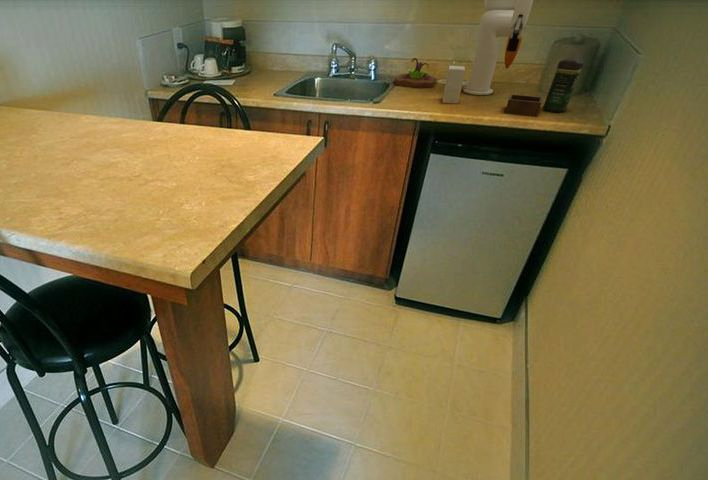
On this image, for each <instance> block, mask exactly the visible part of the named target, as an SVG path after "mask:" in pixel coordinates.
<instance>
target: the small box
mask: <svg viewBox="0 0 708 480" xmlns="http://www.w3.org/2000/svg"><path fill="white" fill-rule="evenodd" d="M465 73H466V67H465V66H463V65H460V66H459V65H449V66H448V70H447V75H446V79H445V85H444V90H443V95H442V103H443V104H459V100H460V96H461V91H462V87H463V86H462V83H463V81H464V78H465Z"/></svg>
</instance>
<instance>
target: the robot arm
mask: <svg viewBox="0 0 708 480" xmlns="http://www.w3.org/2000/svg"><path fill="white" fill-rule="evenodd" d="M534 1H535V0H483V6H484V10H485V11H486V12H485V13H483V14H482V16H481V17H480V20H479V27H478V38H477V44H476V49H475V54H474V58H473V63H472V67H471V71H470V75H469V79H468V80H466V81H464V80H463V83H462V87H464V88H463V92H464V93H466V94H469V95H475V96H488V95H491V94H493V91H494V89H492V88H491V84H492V81H493V77H494V74H495V69H496V65H497V61H498V58H499V54H500V49H501V48H500V44H499V41H498V40H497V38H509V36H510V35H511V34H512V35H511V39H510V40H509V44H508V47H507V51H511V52H515V51H516V49H517V46H518V42H519V36H520V35H522V32H523V31H524V29H525V28H526V25H527V22H528V19H529V16H530V14H531V10H532V7H533V4H534ZM524 27H525V28H524ZM519 28H521V29H522V30H521V29H519ZM523 28H524V29H523Z"/></svg>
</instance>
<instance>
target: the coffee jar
mask: <svg viewBox="0 0 708 480" xmlns="http://www.w3.org/2000/svg"><path fill="white" fill-rule="evenodd" d="M584 63H585V61H584V60H583V58H581V57H576V56H569V57H567V58H564V59H561V60H560V61H558V64H557V66H556V70H555V73H554V76H553V79H552V80H551V81H552V82H551V85H550V87H549V90H548V93H547V95H546V97H545V101H544V104H543V106H542V108H543V110H545V111H547V112H551V113H554V112H559V113H561V112H564V111H566V110H567V108H568V106H569V103H570V100H571V98H572V94H573V93H574V90H575V88H576V84H577V82H578V80H579V76H580V74H581V72H582V69H583V66H584Z"/></svg>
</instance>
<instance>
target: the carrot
mask: <svg viewBox="0 0 708 480" xmlns="http://www.w3.org/2000/svg"><path fill="white" fill-rule="evenodd" d="M525 28H526V26H525V27H524V28H523V30H524V29H525ZM519 29H521V28H519ZM521 30H522V29H521ZM511 35H512V34H511ZM511 35H510V36H509V37H507V40H506V41H507V42H506V45H505V51H504V66H505V67H504V68H505V69H509V68H510V66H511V65H512V64H513V62H514V61H515V59H516V56H517V54H518V52H519V50H520V46H521V44H522V40H523V35H522V34H521V35H520V36H519V42H518V46H517V49H516V51H515V52H511V51H507V47H508V44H509V40H510V39H511Z"/></svg>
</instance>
